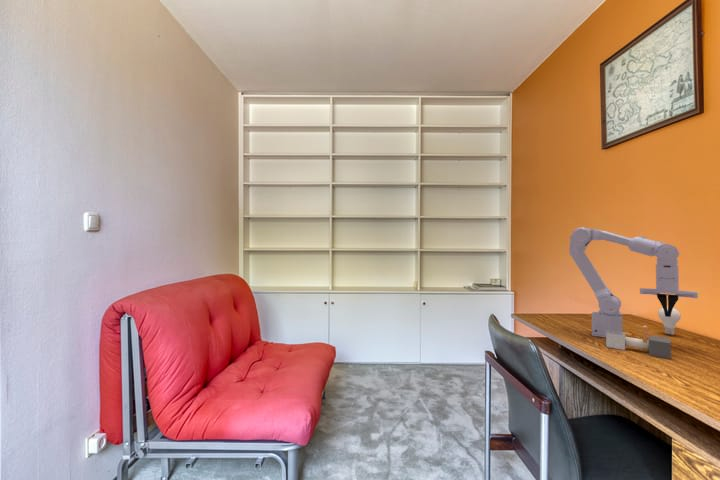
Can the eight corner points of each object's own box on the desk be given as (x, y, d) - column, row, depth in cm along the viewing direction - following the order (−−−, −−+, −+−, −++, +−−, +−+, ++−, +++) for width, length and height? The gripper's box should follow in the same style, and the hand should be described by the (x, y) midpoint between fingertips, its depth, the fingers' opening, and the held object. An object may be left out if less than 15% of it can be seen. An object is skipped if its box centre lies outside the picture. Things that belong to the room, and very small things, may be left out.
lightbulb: (686, 337, 119) (685, 308, 119) (669, 337, 119) (668, 308, 119) (669, 332, 125) (669, 305, 125) (653, 332, 125) (653, 305, 125)
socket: (649, 355, 100) (648, 339, 100) (649, 349, 105) (648, 335, 105) (671, 359, 97) (670, 343, 97) (669, 353, 102) (669, 338, 102)
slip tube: (617, 345, 107) (617, 323, 107) (618, 343, 109) (617, 322, 109) (662, 353, 100) (661, 329, 100) (661, 350, 102) (661, 327, 102)
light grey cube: (606, 347, 108) (606, 332, 109) (607, 343, 112) (607, 329, 112) (625, 350, 105) (624, 335, 105) (625, 346, 109) (625, 332, 109)
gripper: (639, 277, 112) (640, 314, 112) (698, 280, 102) (699, 321, 102) (639, 275, 117) (640, 311, 117) (696, 278, 107) (696, 317, 107)
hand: (667, 316), depth 110 cm, fingers closed
